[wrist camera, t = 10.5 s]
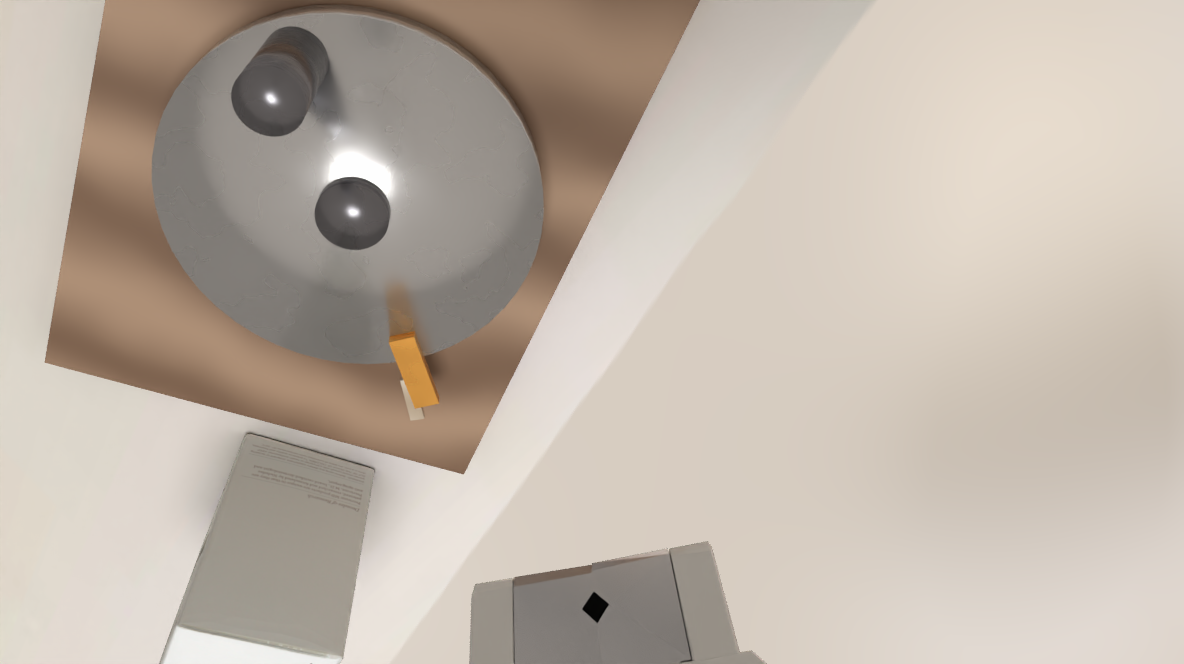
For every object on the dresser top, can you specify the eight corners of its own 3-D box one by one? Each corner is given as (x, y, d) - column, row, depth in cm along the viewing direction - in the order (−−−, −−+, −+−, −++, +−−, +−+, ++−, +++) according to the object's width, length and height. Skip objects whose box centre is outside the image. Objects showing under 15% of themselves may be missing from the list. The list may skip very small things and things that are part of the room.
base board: (168, -291, 30) (152, -293, 29) (702, -28, 36) (710, -19, 35) (57, 344, 43) (42, 364, 42) (464, 456, 50) (463, 476, 48)
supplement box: (244, 428, 47) (174, 623, 37) (378, 467, 49) (348, 661, 39) (209, 520, 50) (135, 723, 40) (336, 553, 53) (298, 753, 42)
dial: (584, 347, 44) (597, 431, 39) (275, 414, 45) (245, 506, 39) (490, -38, 34) (490, 3, 28) (89, 54, 34) (14, 112, 29)
